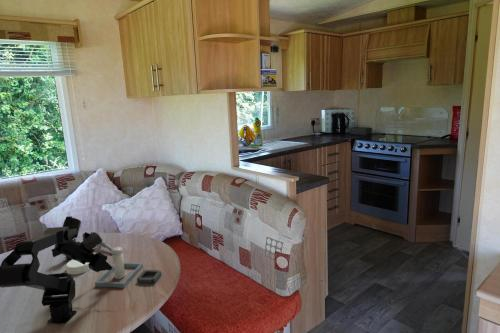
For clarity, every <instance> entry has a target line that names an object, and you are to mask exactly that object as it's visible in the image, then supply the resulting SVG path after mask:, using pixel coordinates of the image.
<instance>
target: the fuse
mask: <svg viewBox="0 0 500 333" xmlns="http://www.w3.org/2000/svg"><path fill="white" fill-rule="evenodd" d="M110 252H111V256H112V264H113V265H114V271H113V272H114V279H116V280H121V279H123V278H125V277H126V276H127V275H126V274H127V273H126V269H125V268H126V267H124V263H125V259H124V250H123V247H121V246H117V247H113V249H112V250H111V251H110ZM113 265H112V266H113Z"/></svg>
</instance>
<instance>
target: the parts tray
mask: <svg viewBox="0 0 500 333" xmlns="http://www.w3.org/2000/svg"><path fill="white" fill-rule="evenodd" d="M111 266H112V269H111V270H105V273H103V274H102V275H101V276H99V278H97V279H96V281H95V282H94V285H95V288H96V287H97V288H98V287H99V288H101V287H103V288H121V289H125V288H127V286H128V284H130V282H131V281H133V279H134V278H135V277H136V276H137V275H138V273H139V272H140V271H141V270H142V269H143V268H144V265H143V263H142V262H139V263H138V262H124V267H125V268H127V269H128V268H130V269H131V268H132V269H133V268H134V270H133V271H132V272H131V273H130V274H129V276H127V278H126V279H125V280H124V281H121V282H120V281H105V280H106V279H107V278H108V277H109V276H110V275H112V273H113V272H114V265H111Z"/></svg>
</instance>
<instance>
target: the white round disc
mask: <svg viewBox="0 0 500 333" xmlns="http://www.w3.org/2000/svg"><path fill="white" fill-rule="evenodd" d="M65 267H66V272H67V274H68V275H69V274H71V276H72V275H81V274H84V273H86V272H88V271H90V270H91V269H90V268H89V263H85V265H84V264H82V263H80V262H78V261H76V260H69V261H67V263H66V265H65Z"/></svg>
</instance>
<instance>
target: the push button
mask: <svg viewBox="0 0 500 333" xmlns="http://www.w3.org/2000/svg"><path fill="white" fill-rule="evenodd" d="M73 240H75V241H76V242H77V238H74V239H73ZM61 259H62V262H64V261H67V262H69V261H71V260H73V259H71V258H70V257H68V256H65V257H62V258H61Z"/></svg>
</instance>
